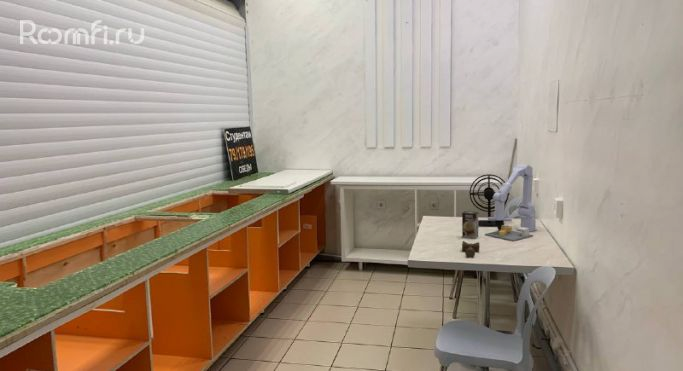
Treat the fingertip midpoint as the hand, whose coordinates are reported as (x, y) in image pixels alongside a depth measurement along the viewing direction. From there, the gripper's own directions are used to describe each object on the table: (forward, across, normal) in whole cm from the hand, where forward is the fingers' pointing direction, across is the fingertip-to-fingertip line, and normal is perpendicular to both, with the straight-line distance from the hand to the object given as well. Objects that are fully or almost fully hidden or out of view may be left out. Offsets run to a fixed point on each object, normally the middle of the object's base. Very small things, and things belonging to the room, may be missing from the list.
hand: (499, 232), depth 320 cm
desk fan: (+2, -11, +31) cm, 33 cm away
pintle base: (+2, +6, -1) cm, 6 cm away
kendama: (+2, -10, -47) cm, 48 cm away
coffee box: (+2, -16, -10) cm, 19 cm away
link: (+1, +3, +1) cm, 3 cm away
